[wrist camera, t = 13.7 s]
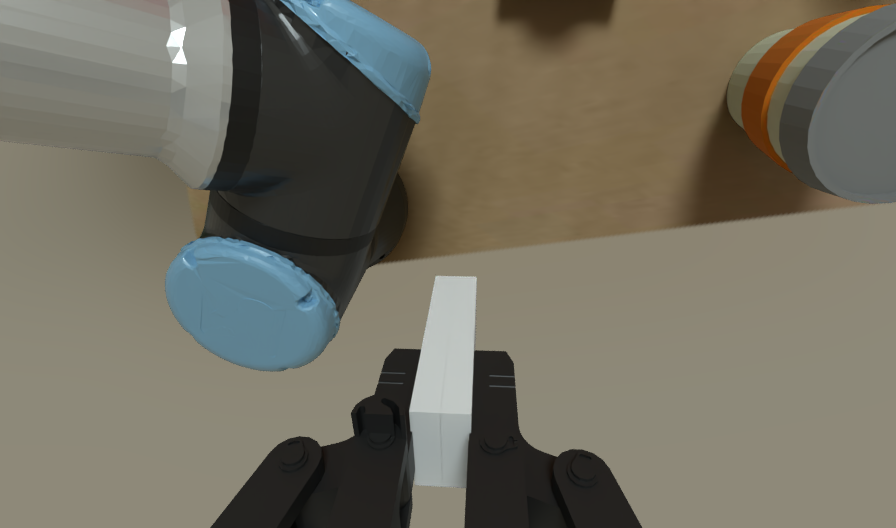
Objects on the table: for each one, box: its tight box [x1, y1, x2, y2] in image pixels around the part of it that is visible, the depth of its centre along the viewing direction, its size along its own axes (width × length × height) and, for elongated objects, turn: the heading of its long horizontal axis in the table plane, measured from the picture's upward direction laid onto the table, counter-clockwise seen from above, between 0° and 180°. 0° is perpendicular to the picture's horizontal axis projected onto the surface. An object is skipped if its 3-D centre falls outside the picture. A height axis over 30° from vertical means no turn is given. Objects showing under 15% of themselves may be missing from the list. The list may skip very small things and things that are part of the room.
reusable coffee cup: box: [727, 3, 896, 204], centre depth 35 cm, size 12×13×15 cm
